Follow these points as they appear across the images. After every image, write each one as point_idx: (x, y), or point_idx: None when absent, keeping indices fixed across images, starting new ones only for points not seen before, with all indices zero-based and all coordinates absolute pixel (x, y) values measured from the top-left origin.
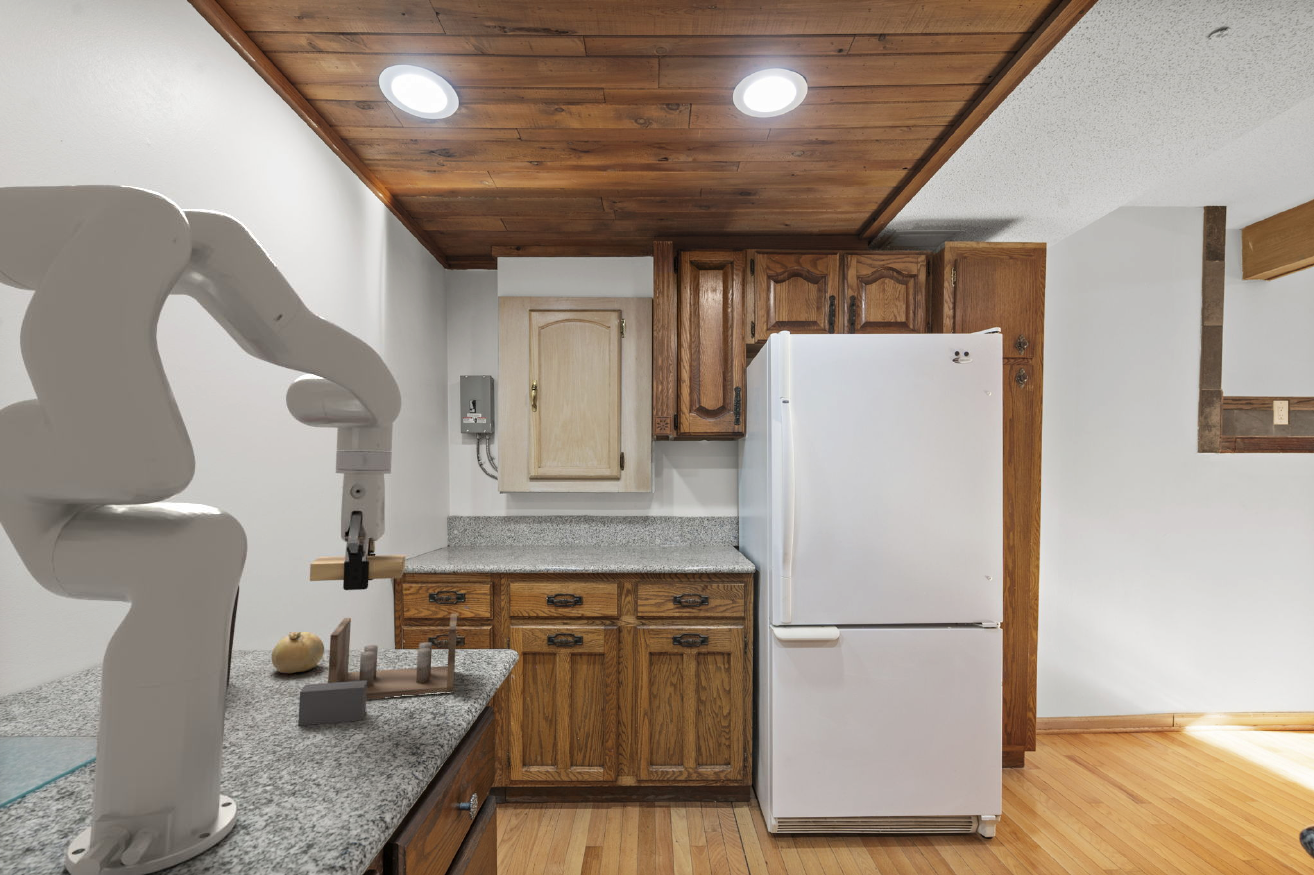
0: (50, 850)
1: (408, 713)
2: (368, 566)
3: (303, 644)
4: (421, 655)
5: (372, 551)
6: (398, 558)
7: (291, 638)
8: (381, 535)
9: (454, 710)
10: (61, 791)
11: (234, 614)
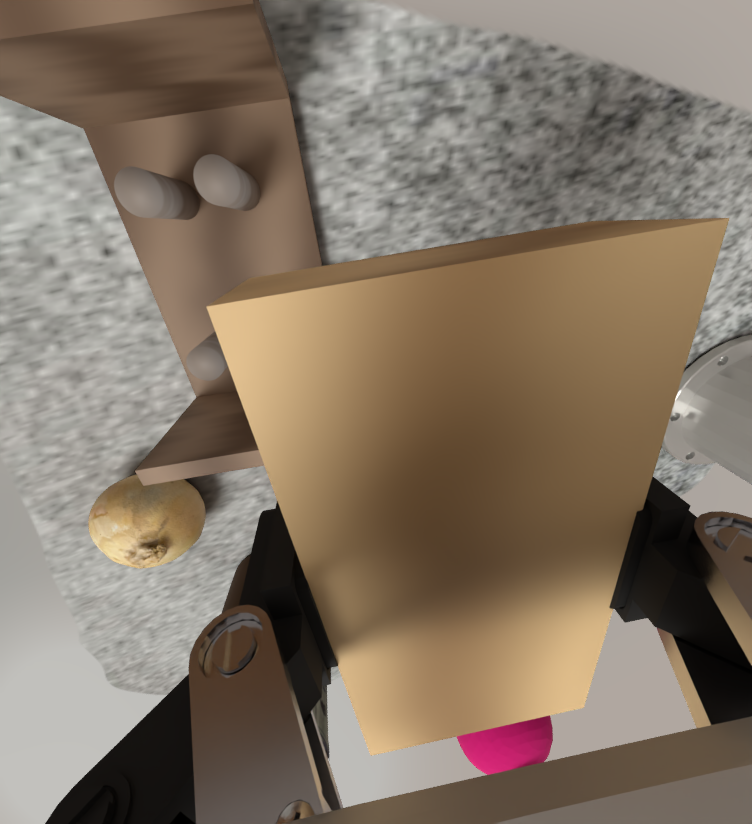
0: (690, 473)
1: (418, 190)
2: (653, 478)
3: (164, 521)
4: (242, 187)
5: (272, 626)
6: (485, 320)
7: (166, 550)
8: (717, 809)
9: (415, 54)
10: None
11: None
